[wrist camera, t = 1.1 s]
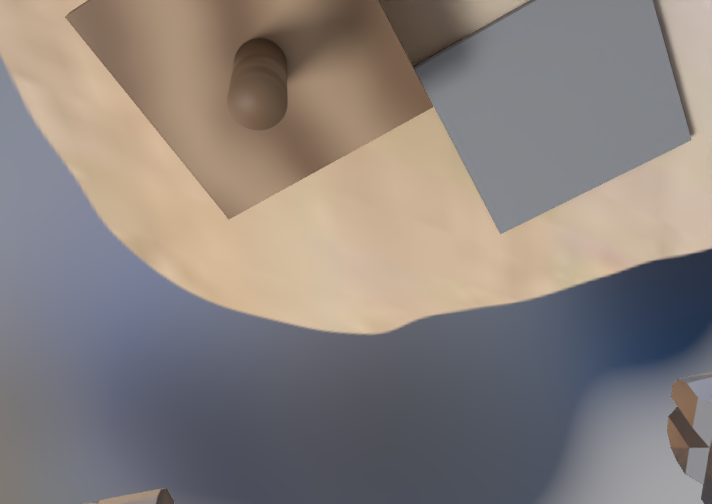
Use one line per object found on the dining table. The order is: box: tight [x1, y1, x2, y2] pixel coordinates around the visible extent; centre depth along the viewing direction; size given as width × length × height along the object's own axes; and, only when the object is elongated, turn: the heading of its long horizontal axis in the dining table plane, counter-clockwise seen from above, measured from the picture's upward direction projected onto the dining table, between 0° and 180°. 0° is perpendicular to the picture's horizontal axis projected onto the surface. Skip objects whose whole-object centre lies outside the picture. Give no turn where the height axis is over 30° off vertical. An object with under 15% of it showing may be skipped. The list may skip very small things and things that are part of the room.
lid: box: [65, 0, 433, 219], centre depth 31 cm, size 13×13×6 cm
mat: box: [414, 0, 691, 234], centre depth 40 cm, size 13×13×1 cm
